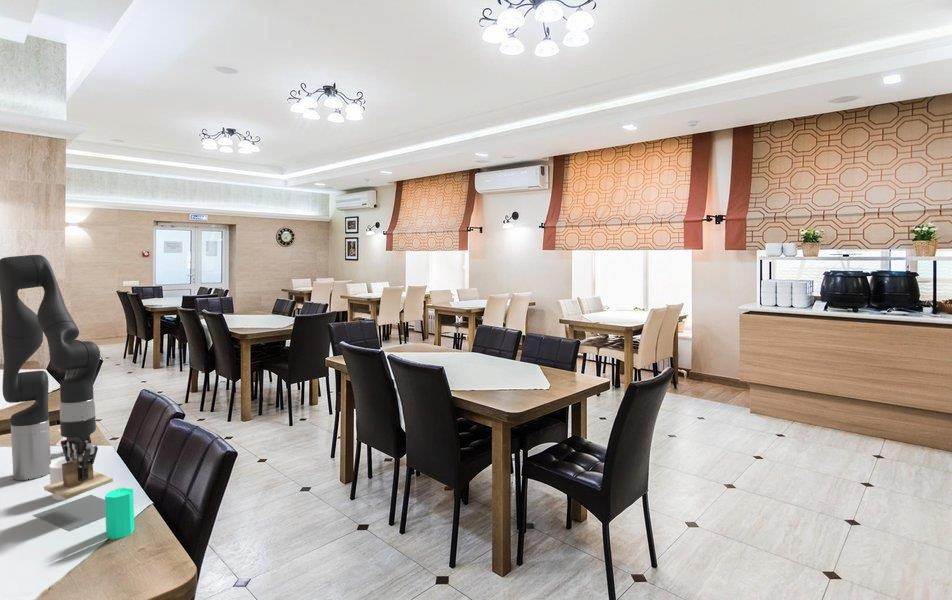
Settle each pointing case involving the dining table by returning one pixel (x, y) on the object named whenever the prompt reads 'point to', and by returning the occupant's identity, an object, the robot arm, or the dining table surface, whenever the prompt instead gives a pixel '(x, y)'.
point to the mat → (75, 513)
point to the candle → (119, 513)
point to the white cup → (56, 475)
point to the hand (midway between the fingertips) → (80, 478)
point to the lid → (76, 481)
